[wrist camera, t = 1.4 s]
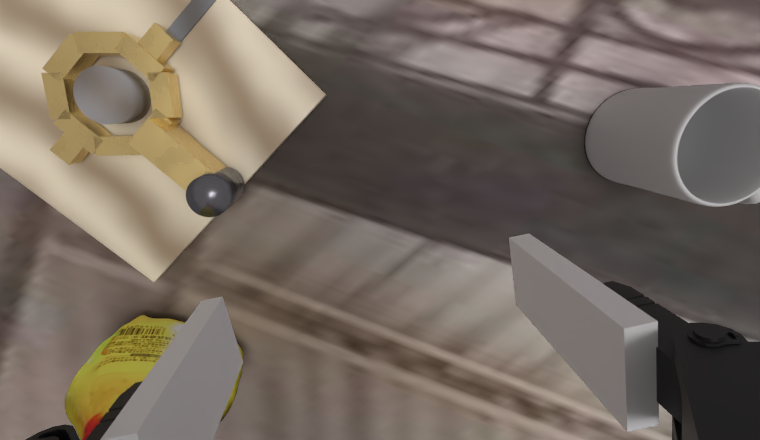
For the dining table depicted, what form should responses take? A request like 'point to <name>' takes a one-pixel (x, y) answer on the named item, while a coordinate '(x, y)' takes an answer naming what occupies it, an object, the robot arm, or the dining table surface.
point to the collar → (156, 135)
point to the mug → (681, 142)
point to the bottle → (121, 370)
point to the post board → (212, 109)
